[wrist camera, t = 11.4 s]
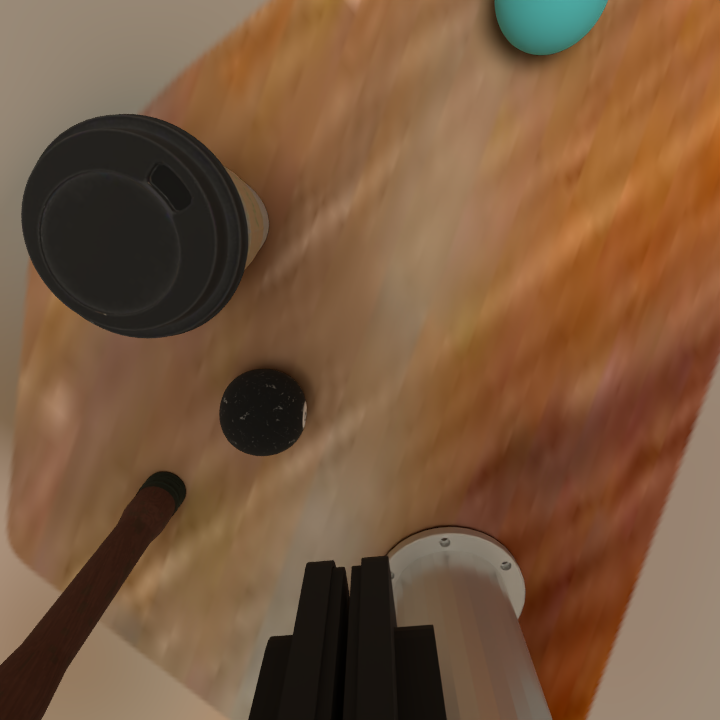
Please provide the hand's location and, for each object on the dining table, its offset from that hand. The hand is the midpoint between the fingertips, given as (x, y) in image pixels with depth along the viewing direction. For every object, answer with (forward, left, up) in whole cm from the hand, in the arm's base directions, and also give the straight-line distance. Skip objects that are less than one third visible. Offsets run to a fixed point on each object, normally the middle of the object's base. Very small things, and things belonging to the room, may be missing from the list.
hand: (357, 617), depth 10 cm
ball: (+18, -12, -24) cm, 32 cm away
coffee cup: (+8, +9, -27) cm, 30 cm away
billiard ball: (-5, +8, -27) cm, 29 cm away
